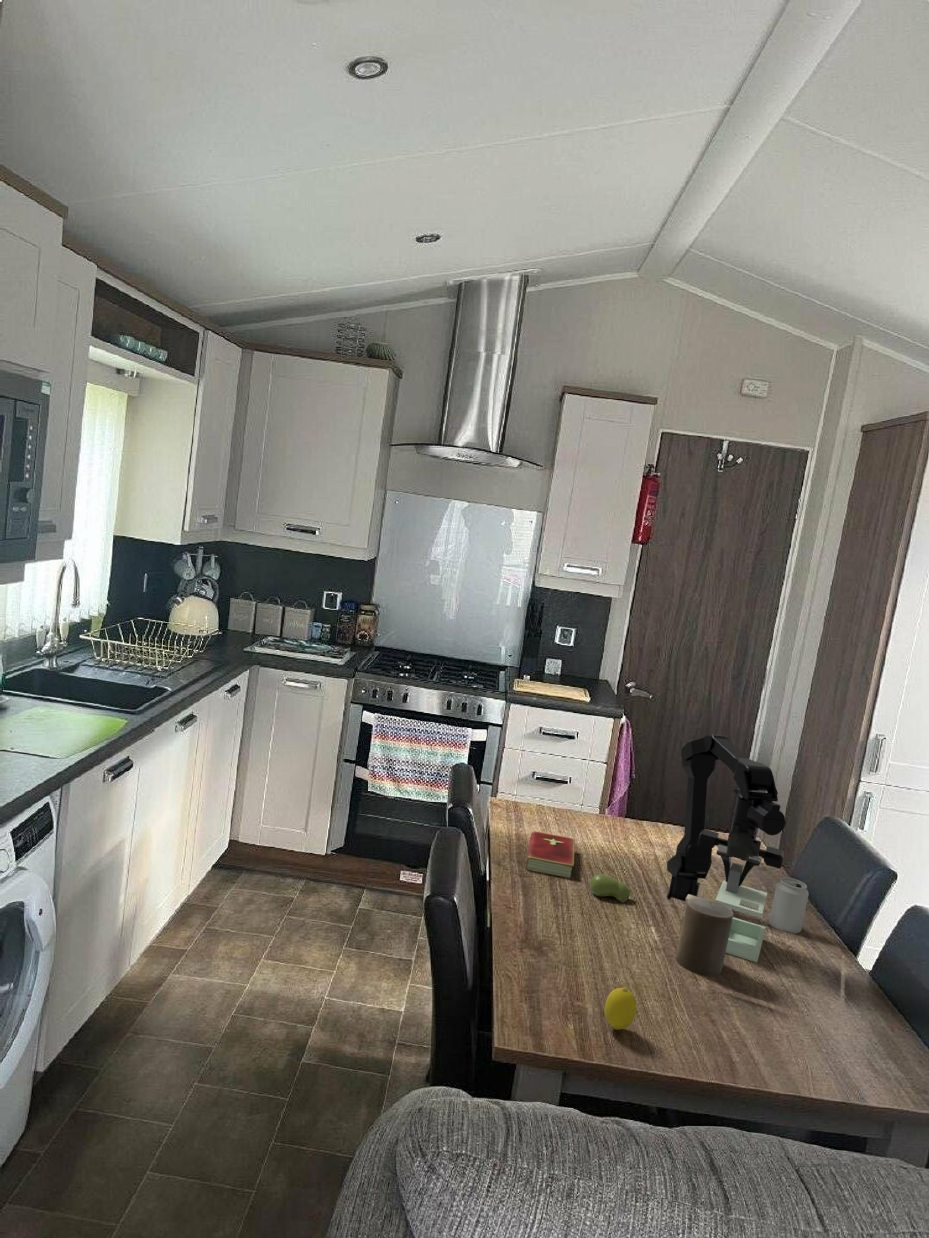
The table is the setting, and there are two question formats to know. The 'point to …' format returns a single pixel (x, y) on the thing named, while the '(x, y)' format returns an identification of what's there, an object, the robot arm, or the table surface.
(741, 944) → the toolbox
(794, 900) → the can
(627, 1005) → the lemon
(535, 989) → the table surface
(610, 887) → the pear
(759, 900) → the green slotted base
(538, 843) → the hardcover book
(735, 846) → the robot arm
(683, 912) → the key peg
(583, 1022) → the table surface
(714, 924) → the pillar candle
